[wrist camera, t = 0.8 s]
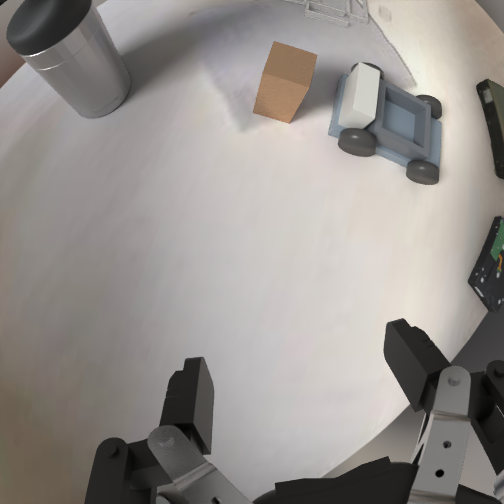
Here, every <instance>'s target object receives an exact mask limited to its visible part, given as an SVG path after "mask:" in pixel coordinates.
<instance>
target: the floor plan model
mask: <svg viewBox="0 0 504 504" xmlns="http://www.w3.org/2000/svg"><path fill="white" fill-rule="evenodd" d="M285 1H289V2H294V3H298V4H302V5H306V6H305V15H304V16H308V17H312V18H315V19H319V20H323V21H326V22H329V23H333V24H336V25H339V26H342V27H345V28H347V26H348V24H349V22H347V21H344V20H341V19H338V18H334V17H331V16H328V15H324V14H321V13H317V12H314V11H310V10H309V7H311V8H314V9H318V10H322V11H325V12H329V13H332V14H335V15H338V16H341V17H343V16H344V15H345V13H346V15H347V16H349V18H350V19H353V20H356V21H359V22H362V23H364V24H367V23H368V13H367V4H366V0H361V1H363V11H364V18H363V17H360V16H357V15H354V14H351V13H350V0H346V12H345V11H342V10H339V9H336V8H333V7H329V6H326V5H323V4H319V3H315V2H312V1H309V2H308V1H307V0H303V2H301V1H297V0H285ZM321 2H322V1H321ZM306 3H307V4H306Z"/></svg>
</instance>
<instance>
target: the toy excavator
mask: <svg viewBox="0 0 504 504" xmlns="http://www.w3.org/2000/svg"><path fill="white" fill-rule="evenodd" d="M164 497H165V496H163V495H160V494H159V495H156V504H171V503H170V501H169V500H168V501H167V500H166V499H165V498H164Z"/></svg>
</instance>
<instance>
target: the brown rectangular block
mask: <svg viewBox="0 0 504 504" xmlns="http://www.w3.org/2000/svg"><path fill="white" fill-rule="evenodd" d="M316 59H317V55H316V54H313V53H310V52H308V51H305V50H301V49H298V48H295V47H292V46H289V45H285V44H282V43H278V42H275V41H274V42H273V45H272V48H271V51H270V54H269V56H268V59H267V62H266V65H265V68H264V71H263V74H262V78H261V82H260V86H259V90H258V94H257V98H256V102H255V106H254V110H253V113H255V114H259V115H262V116H266V117H269V118H273V119H276V120H279V121H282V122H286V123H290V121H291V119H292V118H293V116H294V114H295V112H296V111H297V109H298V107H299V105H300V103H301V102H302V100H303V98H304V96H305V95H306V93H307V91H308V89H309V88H310V84H311V80H312V75H313V71H314V67H315V63H316Z"/></svg>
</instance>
